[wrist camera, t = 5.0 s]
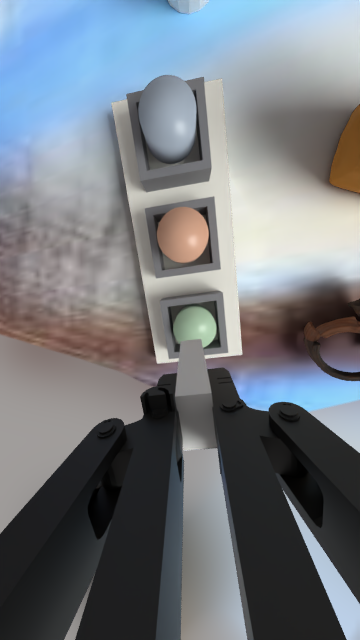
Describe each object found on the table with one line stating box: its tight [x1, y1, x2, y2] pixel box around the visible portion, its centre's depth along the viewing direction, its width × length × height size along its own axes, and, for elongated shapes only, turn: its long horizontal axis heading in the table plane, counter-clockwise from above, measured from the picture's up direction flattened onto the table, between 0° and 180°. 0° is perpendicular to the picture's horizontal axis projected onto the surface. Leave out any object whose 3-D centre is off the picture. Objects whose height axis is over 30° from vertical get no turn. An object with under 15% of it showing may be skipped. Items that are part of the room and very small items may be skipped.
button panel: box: [111, 77, 242, 364], centre depth 24 cm, size 31×12×5 cm, turn 8°
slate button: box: [138, 75, 196, 164], centre depth 18 cm, size 5×5×3 cm
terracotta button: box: [157, 207, 209, 264], centre depth 21 cm, size 5×5×3 cm
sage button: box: [173, 304, 216, 348], centre depth 25 cm, size 5×5×3 cm
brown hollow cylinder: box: [304, 299, 360, 381], centre depth 25 cm, size 12×10×8 cm
